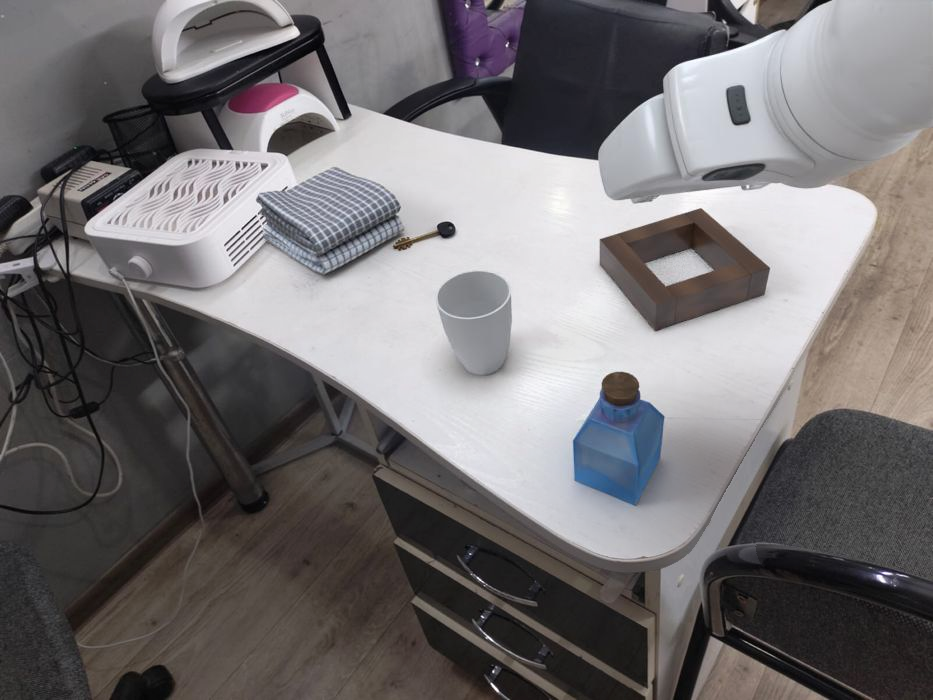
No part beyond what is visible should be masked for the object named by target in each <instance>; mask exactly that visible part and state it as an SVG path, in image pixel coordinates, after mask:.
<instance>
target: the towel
mask: <svg viewBox="0 0 933 700" xmlns="http://www.w3.org/2000/svg"><path fill="white" fill-rule="evenodd" d="M255 201H256V203H257V204H259V205H260V206H261V208H260V210H259V211H258V213H259V214H260V215H261V216H262V217H264V218H265V222H266V223H265V225H264V226H263V227H262V230H263V232H262V235H263V236H262V238H263V239H264V240H265V241H266V242H267V243H270V244H271V245H272V246H273V247H276V248H277V249H279V250H280V251H281V252H283V253H284V254H285V255H287V256H289V258H291V259H293V260H294V261H297V262H298V263H299V264H301V265H302V266H305V267H306V268H308V269H310V270H311V271H313V272H314V273H317V274H321V275H326V274H328V273H330V272H332V271H334V270H336V269H338V268H341V267H342V266H344V265H346V264H348V263H349V262H352V261H354V260H355V259H356V258H358V257H360V256H362V255H363V254H365V253H367V252H368V251H370V250H373V249H374V248H375V247H378V246H379V245H381V244H383V243H384V242H386V241H389V240H391V239H392V238H394V237H396V236H397V235H398V234H401V233H402V232H404V231H405V227H404V225H403V222H402V218H401V216H400V215H398V213H399V212H400V211H401V208H402V206H401V204H400V202H399V201H398V200H397V198H396V196H395V194H393V193H392V192H391V191H390V190H389V189H387V188H386V187H385V186H384V185H382V184H380V183H378V182H376V181H373V180H370V179H367V178H365V177H361V176H357V175H356V174H355V175H354V174H352V173H350V172H348V171H345V170H343V169H341V168H340V167H337V166H333V167H330V168H329V169H327V170H323V172H320V173H317V174H316V175H314V176H312V177H310V178H308V179H306V180H305V181H302V182H300V183H299V184H298V185H295V186H293V187H292V188H289V189H287V190H272V191H266V192H259V193H258V195H257V197H256V198H255Z"/></svg>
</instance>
